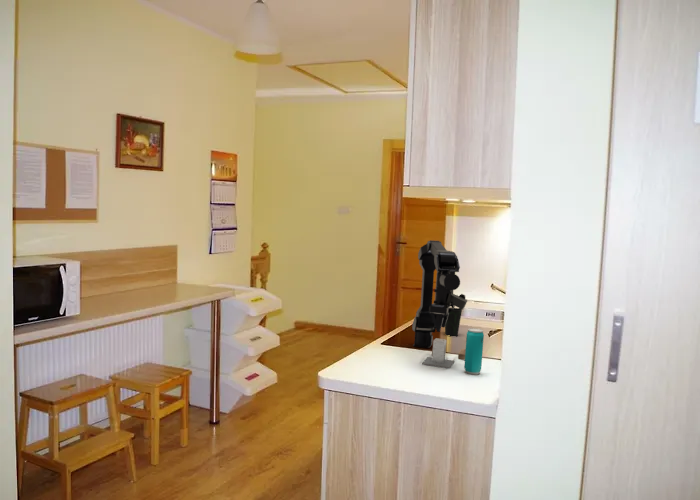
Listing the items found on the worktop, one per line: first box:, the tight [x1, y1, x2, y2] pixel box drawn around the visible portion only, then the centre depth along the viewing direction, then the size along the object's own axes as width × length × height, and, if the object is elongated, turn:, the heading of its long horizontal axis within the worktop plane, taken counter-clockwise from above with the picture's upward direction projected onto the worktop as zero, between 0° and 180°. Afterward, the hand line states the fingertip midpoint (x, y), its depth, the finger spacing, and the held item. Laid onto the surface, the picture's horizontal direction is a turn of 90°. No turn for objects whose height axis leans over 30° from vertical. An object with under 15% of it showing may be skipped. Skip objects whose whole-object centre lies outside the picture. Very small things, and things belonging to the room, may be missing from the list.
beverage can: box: [464, 327, 485, 376], centre depth 199 cm, size 6×6×15 cm
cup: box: [444, 306, 463, 337], centre depth 261 cm, size 8×8×12 cm
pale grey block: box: [431, 337, 447, 364], centre depth 209 cm, size 4×4×8 cm
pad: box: [421, 356, 455, 369], centre depth 210 cm, size 10×10×1 cm
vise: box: [431, 348, 466, 361], centre depth 222 cm, size 18×9×2 cm, turn 71°
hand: (440, 329), depth 209 cm, fingers open, 9 cm apart
